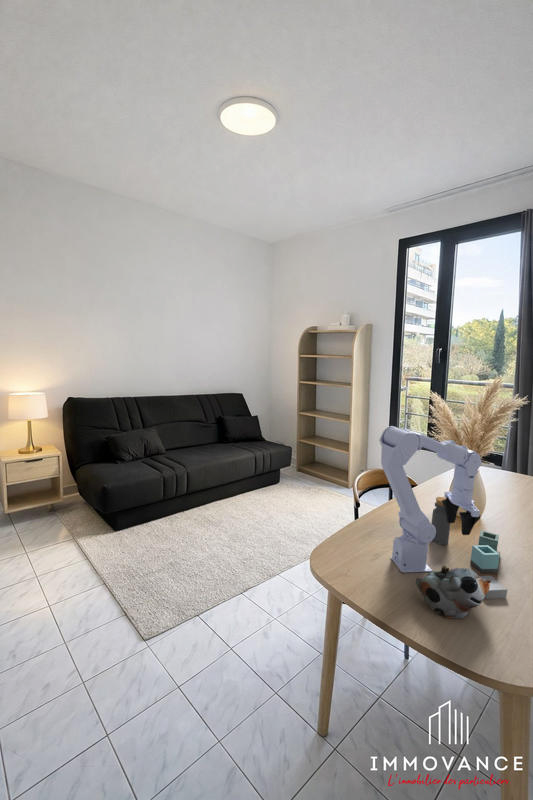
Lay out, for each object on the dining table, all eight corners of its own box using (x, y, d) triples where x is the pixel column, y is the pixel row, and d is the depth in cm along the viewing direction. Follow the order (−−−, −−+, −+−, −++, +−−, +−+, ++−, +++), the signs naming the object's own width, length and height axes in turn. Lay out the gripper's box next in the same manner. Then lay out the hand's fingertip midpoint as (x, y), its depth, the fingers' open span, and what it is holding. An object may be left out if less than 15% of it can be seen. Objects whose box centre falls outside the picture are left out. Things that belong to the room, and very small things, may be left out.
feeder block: (485, 598, 98) (486, 590, 97) (470, 584, 103) (471, 576, 103) (506, 598, 98) (507, 589, 98) (490, 583, 104) (491, 575, 104)
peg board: (495, 583, 104) (498, 559, 103) (467, 574, 108) (470, 550, 107) (499, 556, 119) (502, 534, 118) (475, 548, 123) (478, 528, 122)
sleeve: (481, 573, 106) (483, 554, 105) (470, 563, 111) (472, 545, 110) (497, 573, 107) (499, 554, 106) (485, 563, 112) (487, 545, 111)
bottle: (429, 541, 126) (433, 500, 124) (430, 534, 132) (434, 494, 129) (447, 546, 124) (452, 504, 122) (448, 538, 129) (453, 498, 127)
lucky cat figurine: (445, 582, 104) (477, 551, 98) (473, 626, 94) (511, 594, 88) (406, 577, 98) (438, 544, 92) (431, 624, 88) (468, 589, 82)
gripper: (491, 496, 106) (485, 540, 108) (460, 478, 120) (455, 517, 122) (468, 496, 105) (463, 540, 107) (440, 478, 120) (436, 517, 122)
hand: (457, 528), depth 115 cm, fingers open, 7 cm apart
